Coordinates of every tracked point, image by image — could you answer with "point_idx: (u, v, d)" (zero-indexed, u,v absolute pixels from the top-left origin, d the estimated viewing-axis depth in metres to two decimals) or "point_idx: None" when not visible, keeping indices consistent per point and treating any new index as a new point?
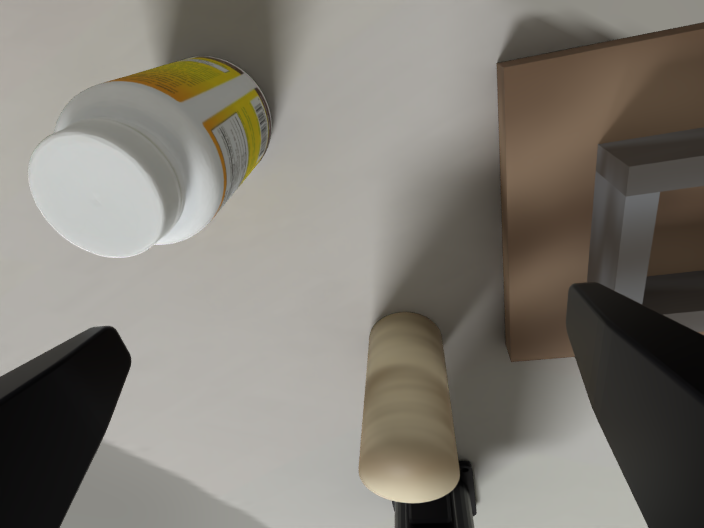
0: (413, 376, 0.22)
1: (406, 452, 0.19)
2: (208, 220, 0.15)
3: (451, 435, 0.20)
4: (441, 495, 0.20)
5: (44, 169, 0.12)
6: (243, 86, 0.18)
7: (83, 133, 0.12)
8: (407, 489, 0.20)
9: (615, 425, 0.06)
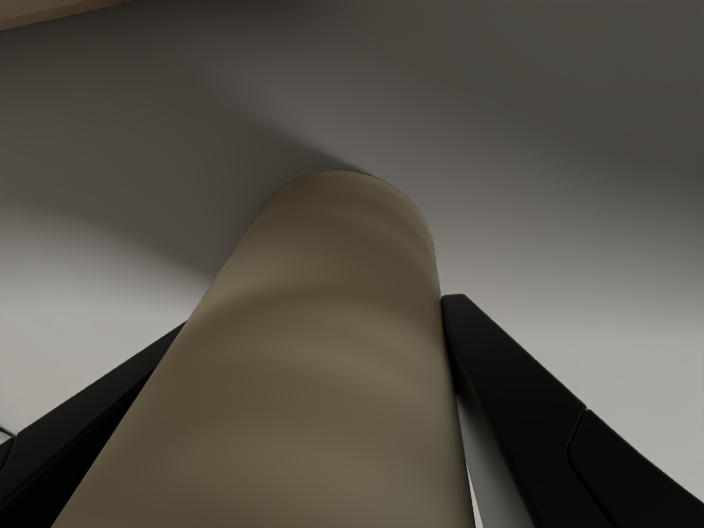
0: None
1: None
2: None
3: None
4: None
5: None
6: None
7: None
8: None
9: (462, 431, 0.07)
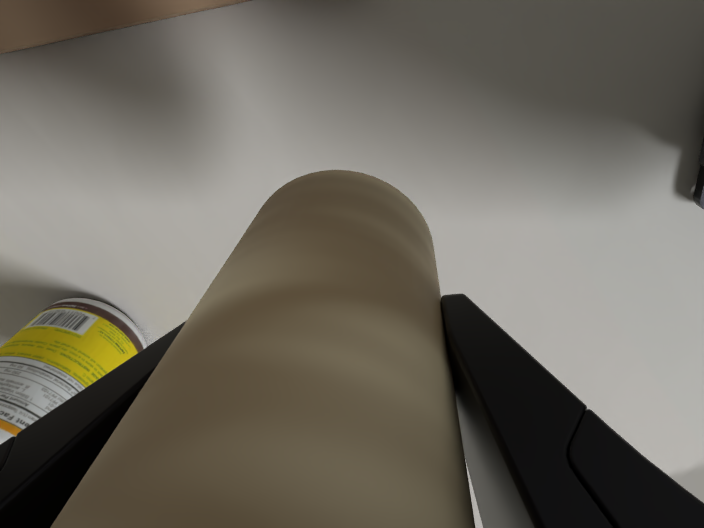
0: None
1: None
2: None
3: None
4: None
5: None
6: (22, 328, 0.20)
7: None
8: None
9: (462, 431, 0.07)
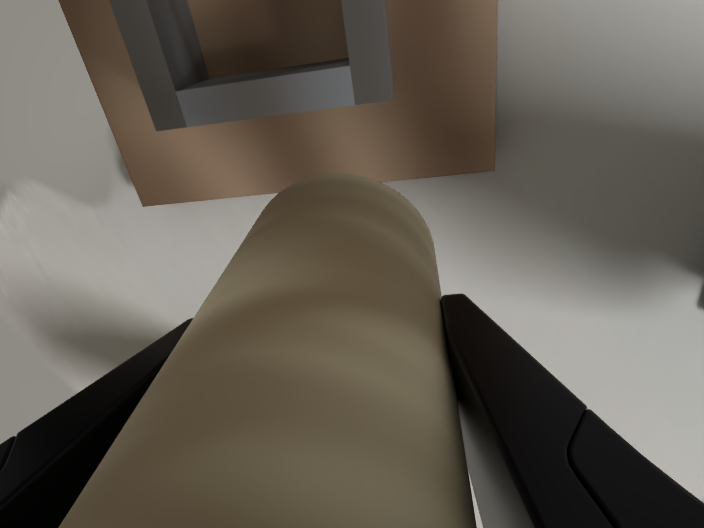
0: None
1: None
2: None
3: None
4: None
5: None
6: None
7: None
8: None
9: (462, 431, 0.07)
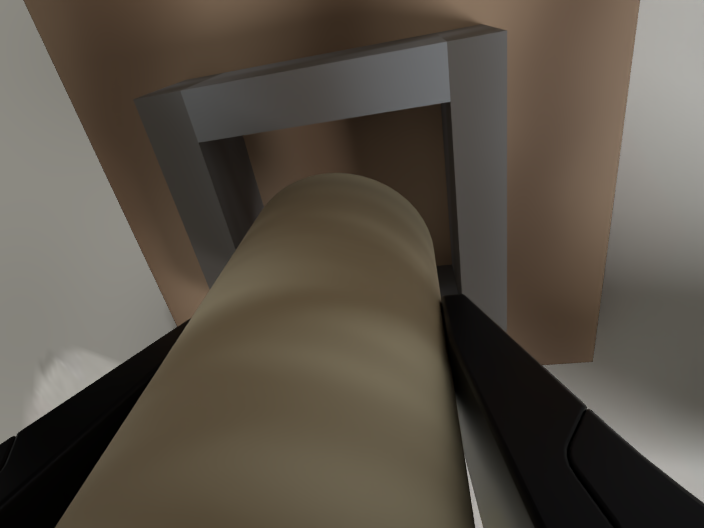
0: None
1: None
2: None
3: None
4: None
5: None
6: None
7: None
8: None
9: (462, 431, 0.07)
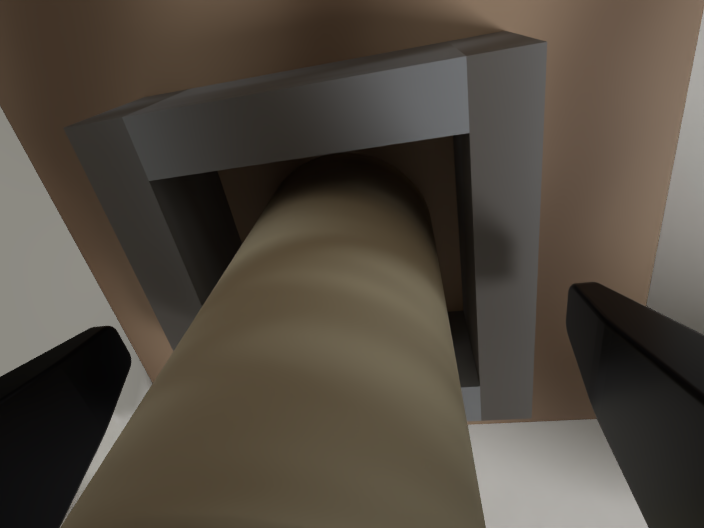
0: None
1: None
2: None
3: (164, 401, 0.04)
4: None
5: None
6: None
7: None
8: None
9: (615, 425, 0.06)
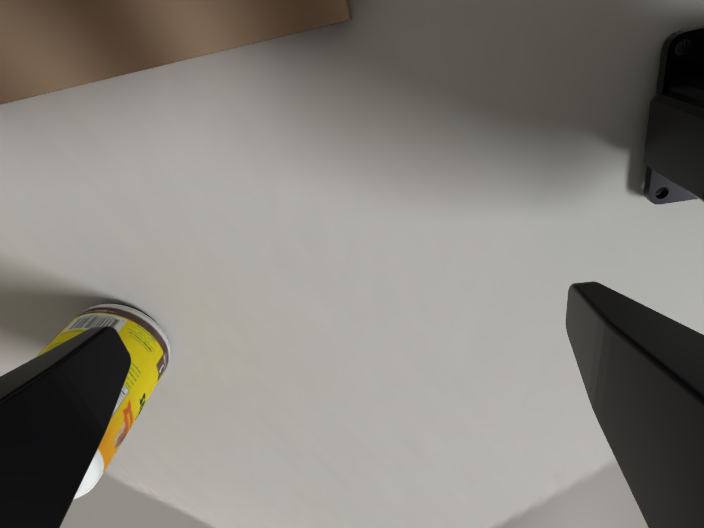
0: None
1: None
2: None
3: None
4: None
5: None
6: None
7: None
8: None
9: (615, 425, 0.06)
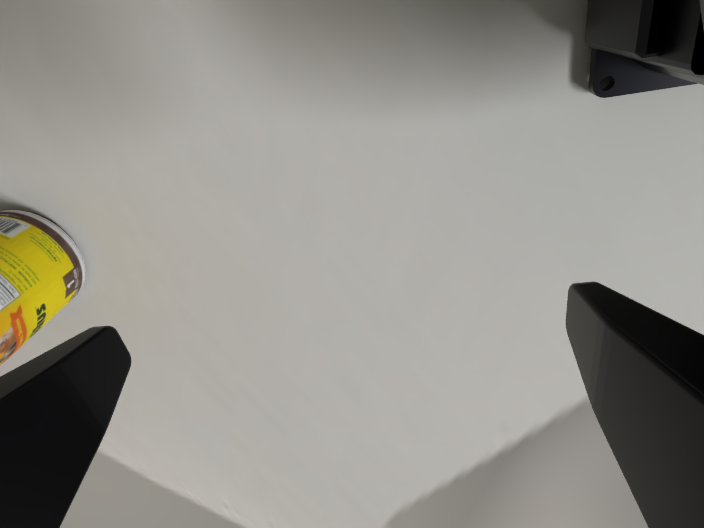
0: None
1: None
2: None
3: None
4: None
5: None
6: None
7: None
8: None
9: (615, 425, 0.06)
